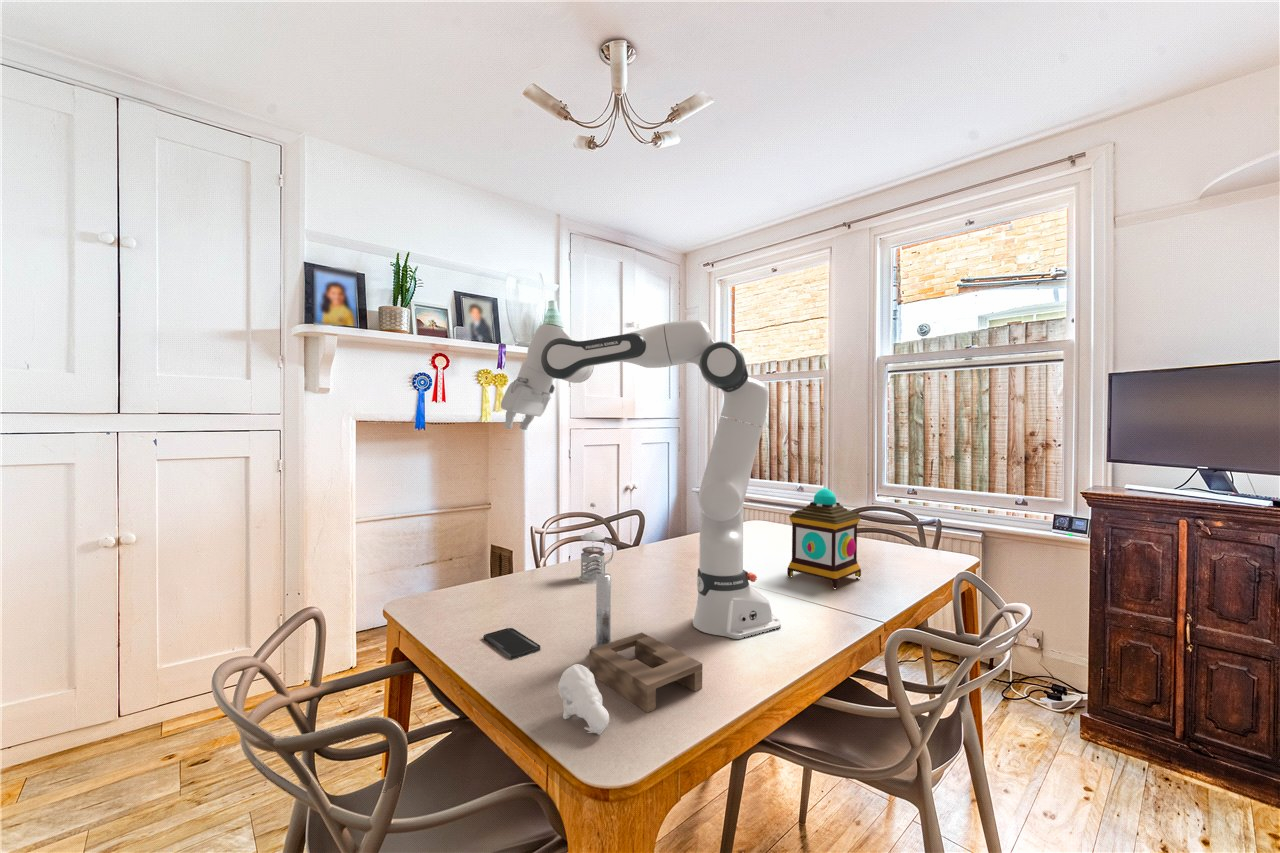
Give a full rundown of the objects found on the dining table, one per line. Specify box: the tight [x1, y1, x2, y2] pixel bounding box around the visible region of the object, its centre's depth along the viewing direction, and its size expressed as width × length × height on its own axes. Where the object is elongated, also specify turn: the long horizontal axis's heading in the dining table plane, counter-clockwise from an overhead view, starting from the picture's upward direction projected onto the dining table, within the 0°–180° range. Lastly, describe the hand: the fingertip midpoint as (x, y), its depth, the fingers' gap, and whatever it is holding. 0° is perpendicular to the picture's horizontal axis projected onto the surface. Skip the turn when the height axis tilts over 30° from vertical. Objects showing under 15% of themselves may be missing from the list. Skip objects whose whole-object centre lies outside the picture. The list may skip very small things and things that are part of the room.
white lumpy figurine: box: [557, 663, 610, 736], centre depth 94 cm, size 6×8×12 cm
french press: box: [577, 502, 614, 584], centre depth 176 cm, size 10×12×25 cm
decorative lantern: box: [786, 487, 862, 589], centre depth 177 cm, size 20×20×30 cm
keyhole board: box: [588, 632, 703, 713], centre depth 109 cm, size 19×14×5 cm
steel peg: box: [590, 572, 612, 649], centre depth 120 cm, size 6×6×18 cm
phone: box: [483, 627, 541, 660], centre depth 125 cm, size 8×1×15 cm
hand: (515, 428), depth 145 cm, fingers open, 8 cm apart
